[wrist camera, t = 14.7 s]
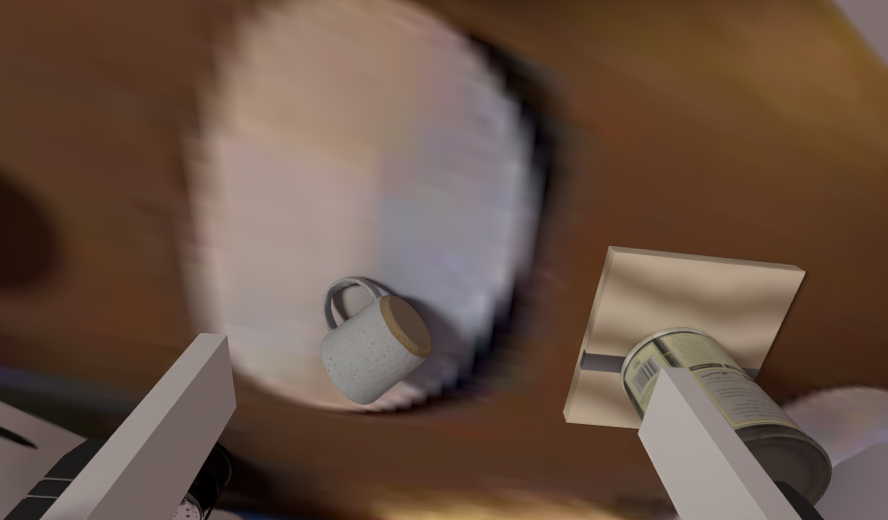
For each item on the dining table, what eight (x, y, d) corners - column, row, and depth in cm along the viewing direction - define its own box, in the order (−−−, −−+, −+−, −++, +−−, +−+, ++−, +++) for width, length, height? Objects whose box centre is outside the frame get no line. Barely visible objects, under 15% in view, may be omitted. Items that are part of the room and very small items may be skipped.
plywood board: (609, 245, 42) (615, 252, 41) (794, 265, 43) (806, 272, 42) (563, 412, 50) (566, 422, 49) (720, 426, 51) (728, 436, 50)
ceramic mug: (439, 326, 46) (437, 373, 39) (381, 370, 48) (369, 422, 41) (364, 253, 43) (348, 289, 36) (306, 303, 45) (280, 347, 38)
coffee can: (711, 408, 48) (809, 535, 35) (613, 409, 48) (675, 537, 35) (734, 324, 44) (854, 433, 31) (627, 326, 44) (703, 436, 31)
